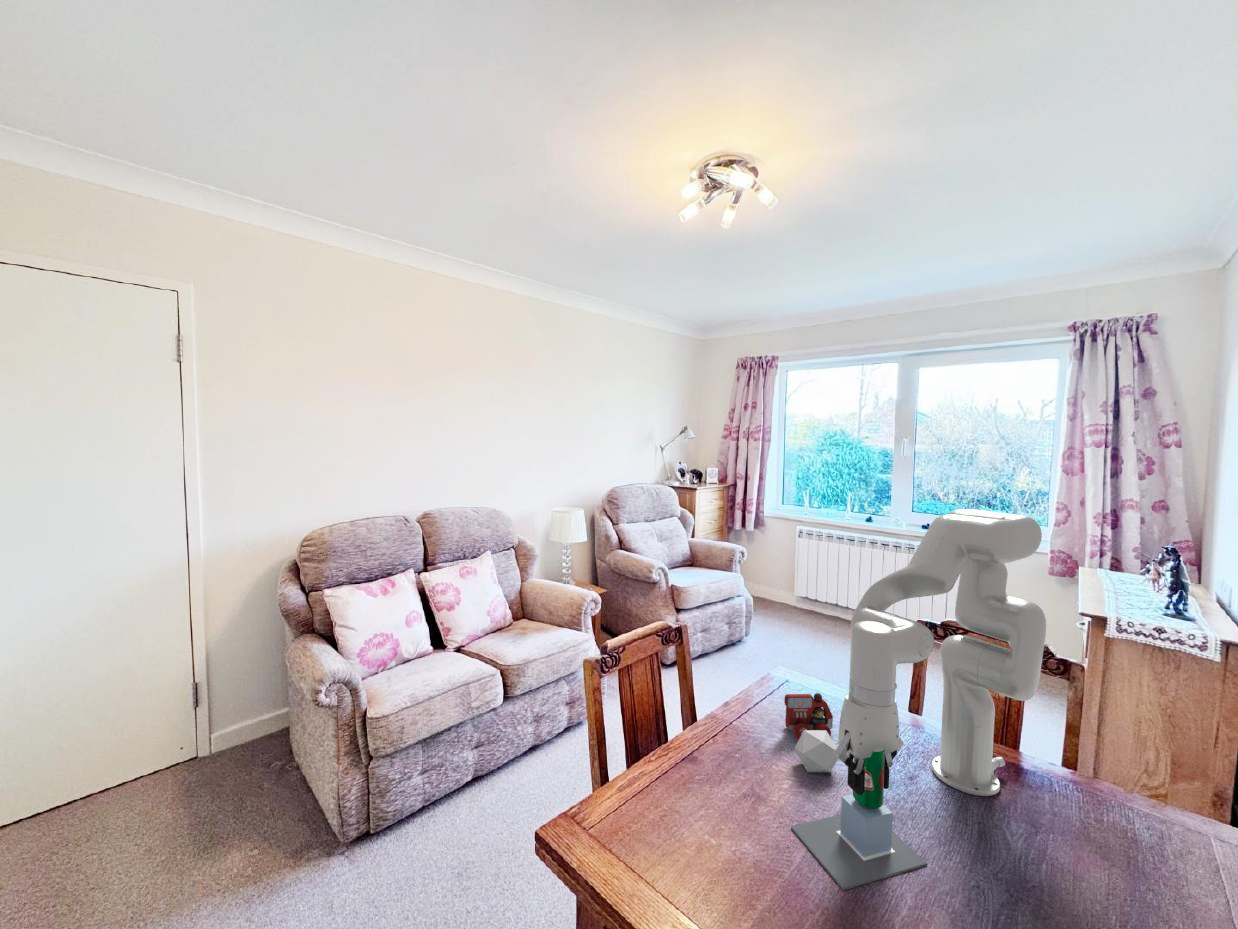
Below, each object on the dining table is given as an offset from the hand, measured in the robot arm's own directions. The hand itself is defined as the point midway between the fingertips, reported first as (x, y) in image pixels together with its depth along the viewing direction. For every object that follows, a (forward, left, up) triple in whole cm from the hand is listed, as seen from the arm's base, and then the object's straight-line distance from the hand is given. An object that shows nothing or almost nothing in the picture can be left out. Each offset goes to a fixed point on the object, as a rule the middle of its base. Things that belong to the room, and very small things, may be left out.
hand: (867, 786), depth 94 cm
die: (-6, -21, -11) cm, 24 cm away
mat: (+2, 0, -11) cm, 11 cm away
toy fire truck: (-13, -33, -11) cm, 37 cm away
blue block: (0, 0, -11) cm, 11 cm away
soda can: (0, 0, -3) cm, 3 cm away
